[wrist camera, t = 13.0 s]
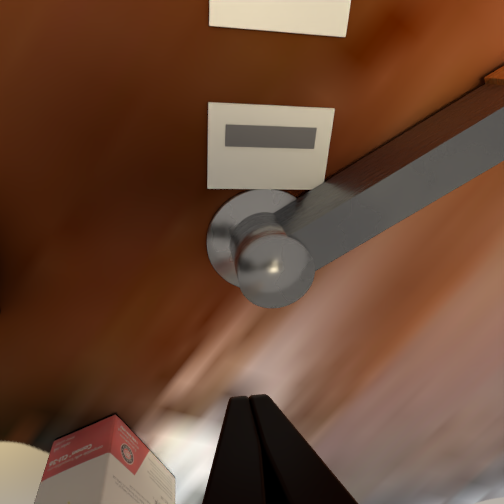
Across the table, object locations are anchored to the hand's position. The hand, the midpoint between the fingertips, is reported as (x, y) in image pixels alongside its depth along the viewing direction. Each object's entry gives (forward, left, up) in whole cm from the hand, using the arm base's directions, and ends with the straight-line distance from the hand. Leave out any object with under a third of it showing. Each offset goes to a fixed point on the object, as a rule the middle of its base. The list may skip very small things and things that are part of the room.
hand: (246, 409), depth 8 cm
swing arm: (+9, +2, -13) cm, 16 cm away
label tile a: (+3, +3, -13) cm, 14 cm away
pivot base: (+3, -2, -13) cm, 13 cm away
